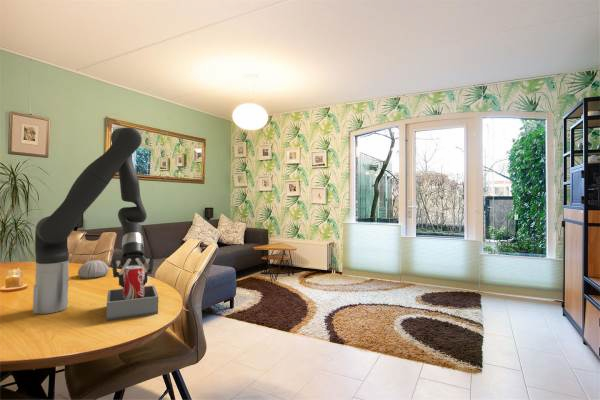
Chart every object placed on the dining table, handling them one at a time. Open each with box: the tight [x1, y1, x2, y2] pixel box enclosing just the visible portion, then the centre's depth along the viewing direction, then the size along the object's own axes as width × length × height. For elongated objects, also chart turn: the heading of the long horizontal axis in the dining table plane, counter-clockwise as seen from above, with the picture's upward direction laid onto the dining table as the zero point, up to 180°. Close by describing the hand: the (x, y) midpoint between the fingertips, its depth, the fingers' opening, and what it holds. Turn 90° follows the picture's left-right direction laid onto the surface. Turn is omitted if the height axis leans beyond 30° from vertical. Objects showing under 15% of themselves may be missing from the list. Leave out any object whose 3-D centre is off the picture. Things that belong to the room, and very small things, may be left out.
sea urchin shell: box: [77, 259, 110, 279], centre depth 158 cm, size 13×14×8 cm
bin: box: [105, 285, 159, 322], centre depth 114 cm, size 16×16×6 cm
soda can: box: [122, 265, 146, 300], centre depth 114 cm, size 7×7×12 cm
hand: (133, 284), depth 112 cm, fingers closed on soda can, 6 cm apart
